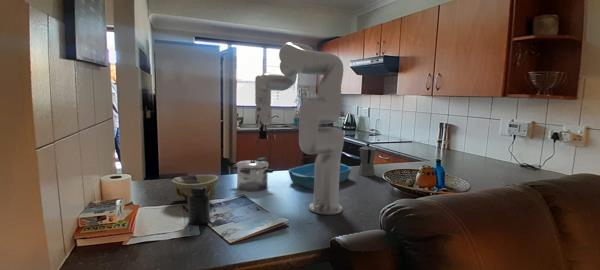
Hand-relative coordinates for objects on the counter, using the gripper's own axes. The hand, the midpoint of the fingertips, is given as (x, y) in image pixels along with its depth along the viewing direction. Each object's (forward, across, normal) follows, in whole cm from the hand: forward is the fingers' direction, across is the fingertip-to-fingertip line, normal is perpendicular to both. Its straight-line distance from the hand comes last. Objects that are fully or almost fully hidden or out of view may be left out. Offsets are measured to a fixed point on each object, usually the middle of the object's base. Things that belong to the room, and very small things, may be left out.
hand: (263, 138), depth 160 cm
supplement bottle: (+23, -55, -1) cm, 60 cm away
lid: (+11, -7, +1) cm, 14 cm away
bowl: (+22, -37, +13) cm, 45 cm away
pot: (+22, -10, +1) cm, 24 cm away
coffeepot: (+22, +37, -47) cm, 64 cm away
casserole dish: (+22, +13, -26) cm, 37 cm away
